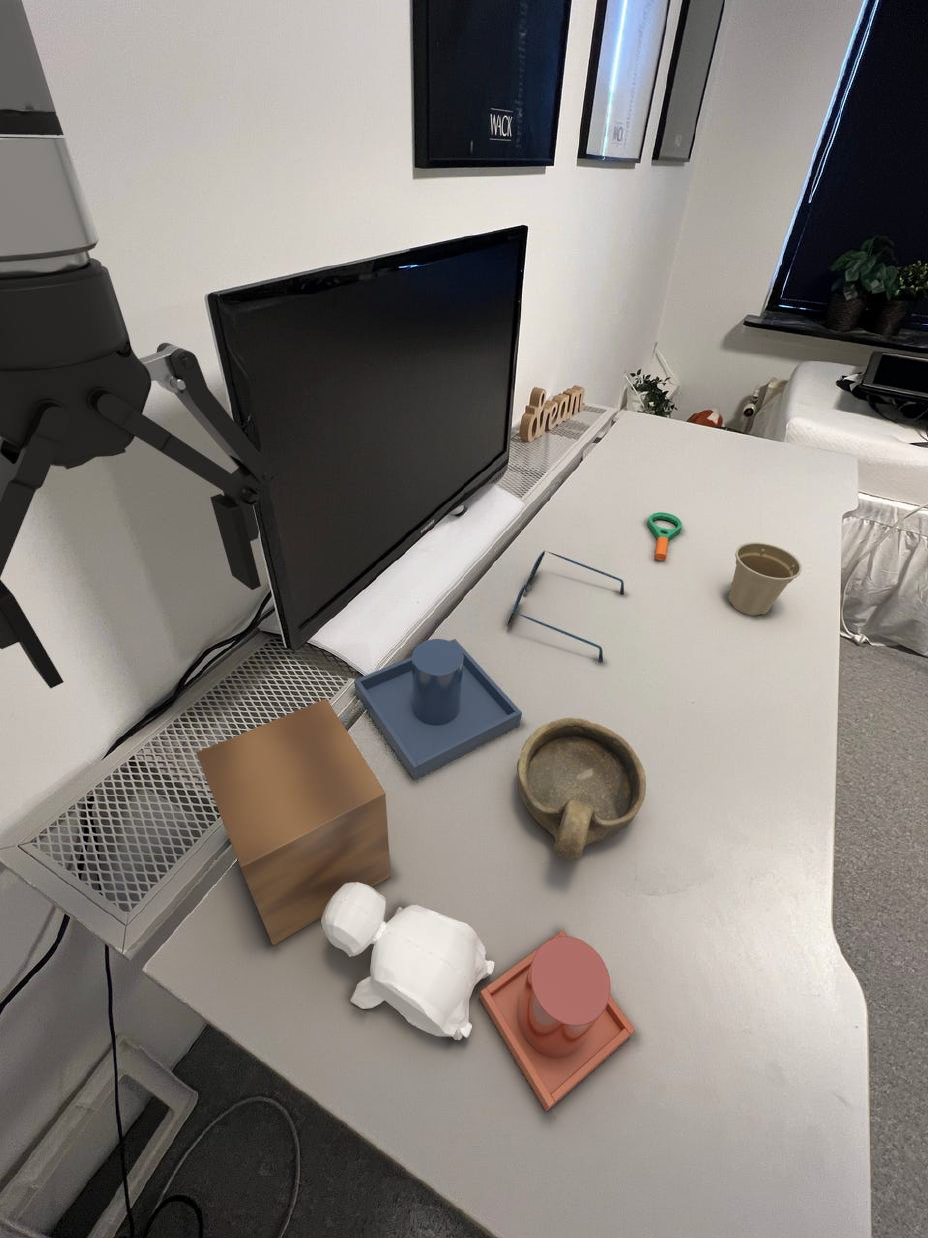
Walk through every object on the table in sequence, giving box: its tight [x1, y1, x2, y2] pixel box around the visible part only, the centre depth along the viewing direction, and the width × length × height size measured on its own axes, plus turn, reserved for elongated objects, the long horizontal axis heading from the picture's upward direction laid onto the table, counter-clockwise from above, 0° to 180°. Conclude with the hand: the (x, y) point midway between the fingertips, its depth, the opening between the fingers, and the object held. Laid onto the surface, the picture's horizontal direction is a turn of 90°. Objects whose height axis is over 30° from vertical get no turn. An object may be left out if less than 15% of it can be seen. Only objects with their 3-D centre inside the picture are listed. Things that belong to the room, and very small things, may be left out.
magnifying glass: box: [647, 511, 683, 561], centre depth 107 cm, size 15×6×2 cm, turn 162°
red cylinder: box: [517, 935, 611, 1058], centre depth 47 cm, size 6×6×9 cm
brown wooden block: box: [195, 698, 392, 946], centre depth 55 cm, size 12×12×15 cm
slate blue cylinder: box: [411, 638, 464, 725], centre depth 72 cm, size 6×6×9 cm
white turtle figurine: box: [320, 882, 496, 1041], centre depth 50 cm, size 8×8×15 cm
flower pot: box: [728, 541, 803, 617], centre depth 92 cm, size 9×9×9 cm
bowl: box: [516, 717, 647, 861], centre depth 62 cm, size 14×18×10 cm
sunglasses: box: [506, 550, 625, 663], centre depth 90 cm, size 17×15×5 cm
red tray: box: [478, 930, 636, 1113], centre depth 50 cm, size 9×9×2 cm
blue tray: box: [353, 638, 523, 781], centre depth 74 cm, size 15×15×2 cm
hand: (157, 623), depth 40 cm, fingers open, 13 cm apart
